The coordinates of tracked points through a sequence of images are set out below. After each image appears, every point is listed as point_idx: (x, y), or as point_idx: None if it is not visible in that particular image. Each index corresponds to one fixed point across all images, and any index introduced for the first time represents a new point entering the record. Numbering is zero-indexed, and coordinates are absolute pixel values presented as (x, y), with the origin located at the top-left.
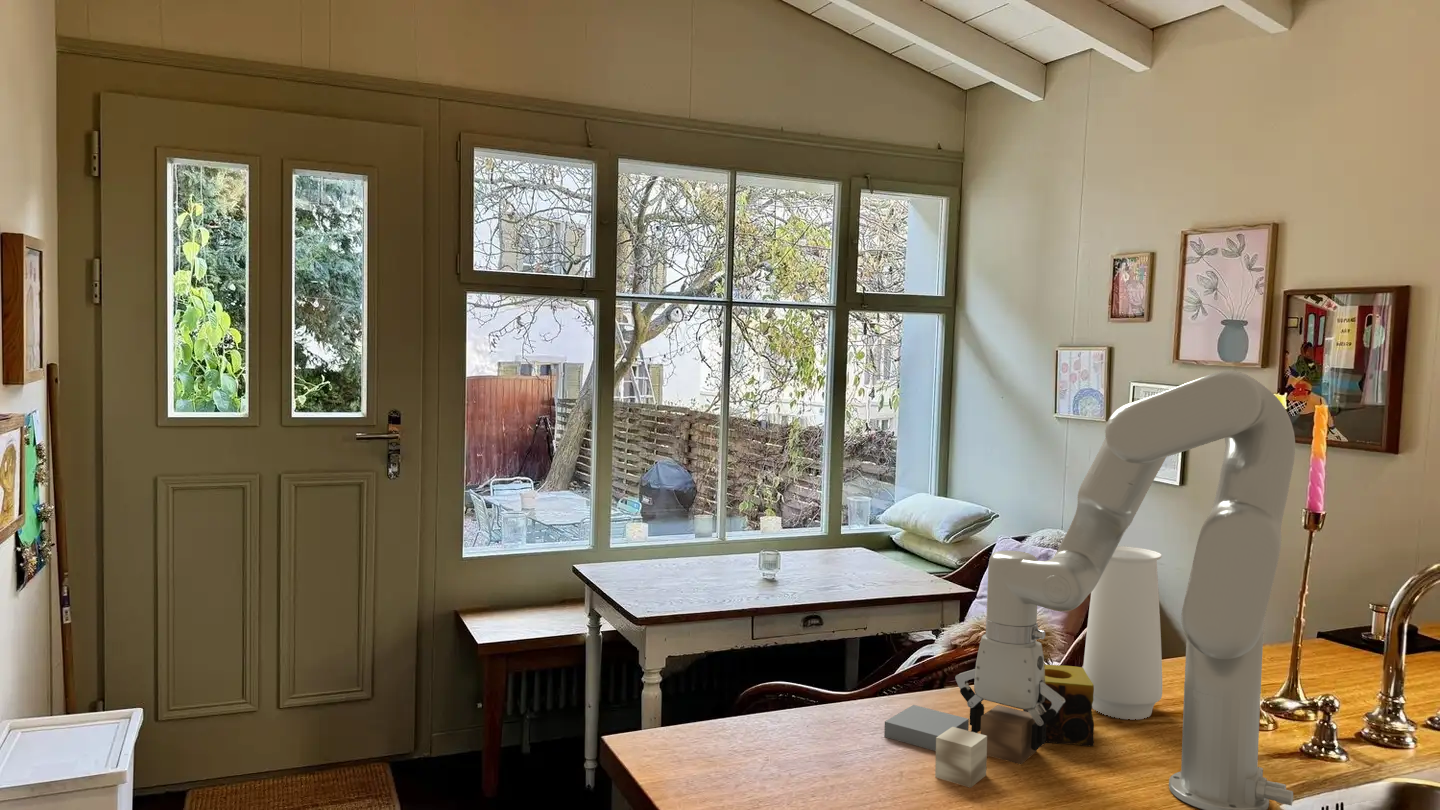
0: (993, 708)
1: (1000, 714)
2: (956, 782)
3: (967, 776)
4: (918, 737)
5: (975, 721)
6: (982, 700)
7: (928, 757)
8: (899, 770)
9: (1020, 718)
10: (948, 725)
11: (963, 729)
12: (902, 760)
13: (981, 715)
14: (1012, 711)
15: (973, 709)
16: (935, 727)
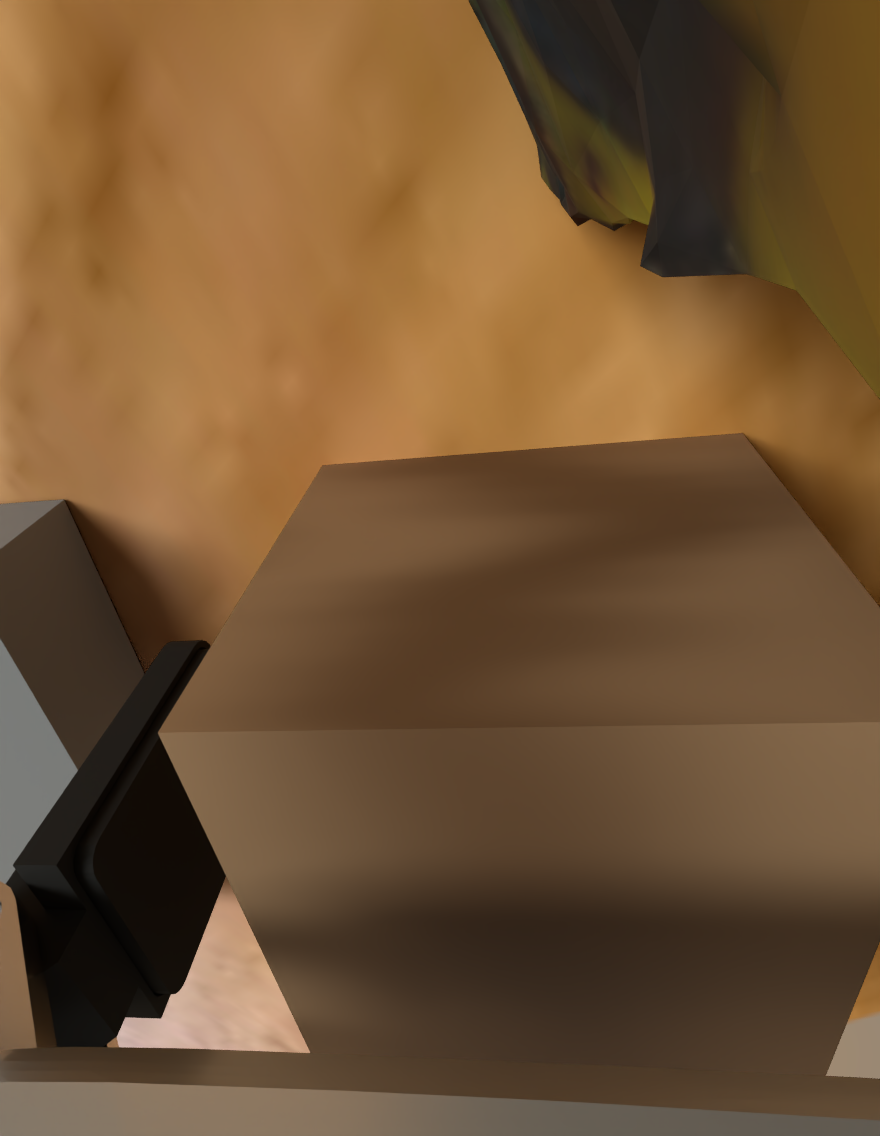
0: (234, 869)
1: (437, 968)
2: None
3: None
4: None
5: (217, 874)
6: (34, 966)
7: (232, 916)
8: (260, 1036)
9: (724, 959)
10: (34, 802)
11: (67, 632)
12: (188, 980)
13: (171, 817)
14: (503, 825)
15: (142, 1015)
16: None
